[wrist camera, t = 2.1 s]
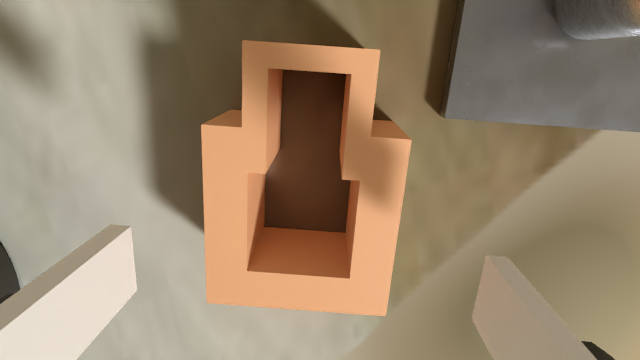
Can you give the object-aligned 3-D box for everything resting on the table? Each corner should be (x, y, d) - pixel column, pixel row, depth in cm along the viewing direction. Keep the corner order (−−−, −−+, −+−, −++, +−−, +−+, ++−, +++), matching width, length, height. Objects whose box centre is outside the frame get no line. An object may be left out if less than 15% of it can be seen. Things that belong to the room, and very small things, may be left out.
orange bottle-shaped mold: (374, 263, 23) (385, 316, 19) (231, 253, 23) (206, 302, 19) (401, 54, 19) (424, 53, 15) (230, 42, 19) (198, 36, 15)
